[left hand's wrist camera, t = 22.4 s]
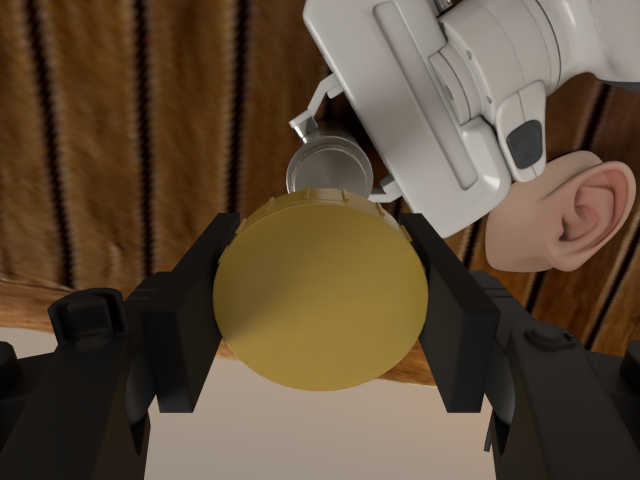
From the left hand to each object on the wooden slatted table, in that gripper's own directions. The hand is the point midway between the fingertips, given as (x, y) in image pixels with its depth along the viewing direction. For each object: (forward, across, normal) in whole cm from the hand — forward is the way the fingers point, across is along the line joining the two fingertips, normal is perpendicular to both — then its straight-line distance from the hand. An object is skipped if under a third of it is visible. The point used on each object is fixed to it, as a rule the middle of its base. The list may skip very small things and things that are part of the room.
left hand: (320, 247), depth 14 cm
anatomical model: (+24, +23, -7) cm, 34 cm away
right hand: (+17, 0, 0) cm, 17 cm away
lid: (-4, 0, 0) cm, 4 cm away
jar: (+24, +1, 0) cm, 24 cm away
